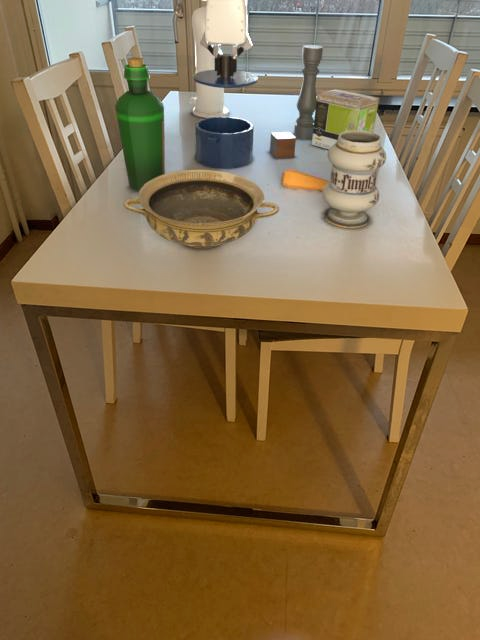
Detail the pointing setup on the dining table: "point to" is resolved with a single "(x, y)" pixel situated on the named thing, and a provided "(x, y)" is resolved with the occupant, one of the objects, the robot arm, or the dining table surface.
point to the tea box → (342, 115)
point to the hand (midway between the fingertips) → (225, 74)
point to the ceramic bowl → (201, 206)
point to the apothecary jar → (353, 178)
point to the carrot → (302, 180)
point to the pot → (224, 142)
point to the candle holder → (308, 92)
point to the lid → (225, 76)
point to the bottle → (141, 126)
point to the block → (282, 145)
